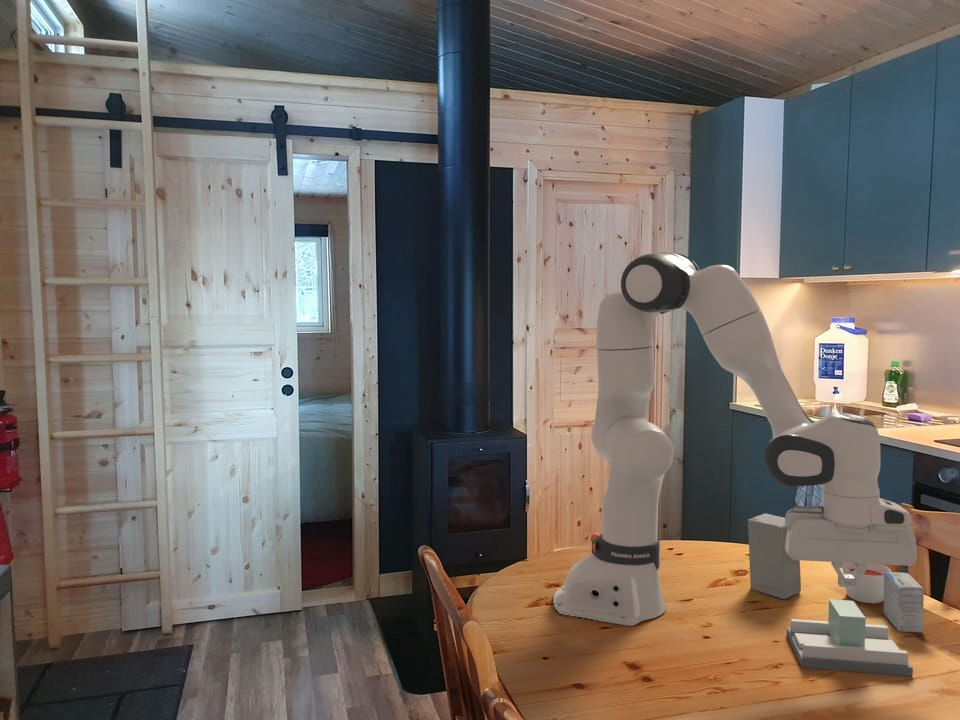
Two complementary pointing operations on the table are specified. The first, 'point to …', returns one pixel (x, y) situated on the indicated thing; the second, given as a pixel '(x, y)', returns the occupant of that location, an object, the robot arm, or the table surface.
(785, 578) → the skincare box
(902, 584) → the medicine box
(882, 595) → the candle
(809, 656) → the rail board
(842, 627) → the rail module
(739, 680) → the table surface
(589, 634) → the table surface
